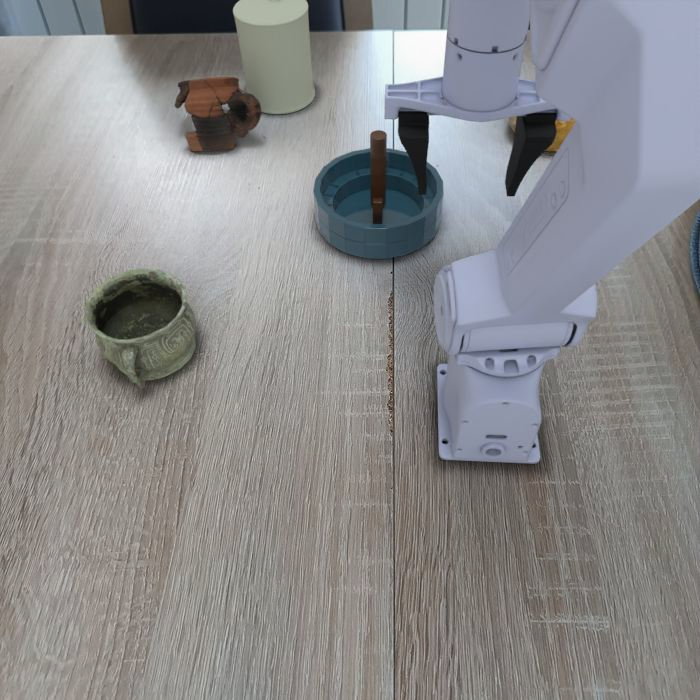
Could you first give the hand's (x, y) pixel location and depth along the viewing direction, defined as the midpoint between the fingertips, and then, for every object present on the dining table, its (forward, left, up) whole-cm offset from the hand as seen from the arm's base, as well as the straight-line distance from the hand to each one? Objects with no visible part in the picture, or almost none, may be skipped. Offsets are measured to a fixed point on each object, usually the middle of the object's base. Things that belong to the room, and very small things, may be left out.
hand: (465, 188), depth 58 cm
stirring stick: (+8, +8, -10) cm, 15 cm away
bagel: (+41, -56, -7) cm, 70 cm away
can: (+33, +22, -11) cm, 41 cm away
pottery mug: (+24, +28, -11) cm, 38 cm away
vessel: (-11, +28, -11) cm, 32 cm away
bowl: (+8, +8, -10) cm, 15 cm away
